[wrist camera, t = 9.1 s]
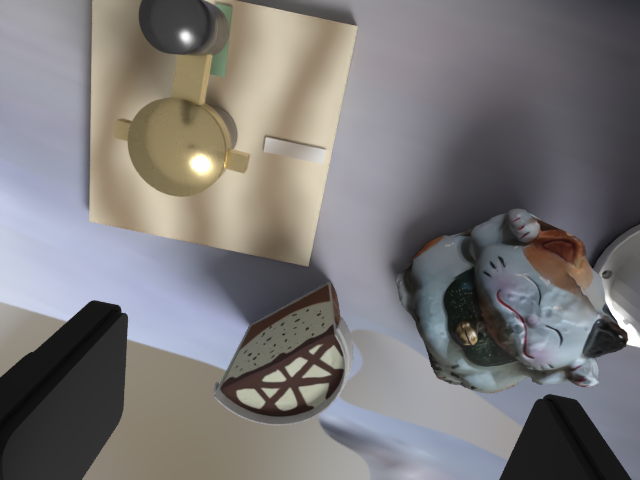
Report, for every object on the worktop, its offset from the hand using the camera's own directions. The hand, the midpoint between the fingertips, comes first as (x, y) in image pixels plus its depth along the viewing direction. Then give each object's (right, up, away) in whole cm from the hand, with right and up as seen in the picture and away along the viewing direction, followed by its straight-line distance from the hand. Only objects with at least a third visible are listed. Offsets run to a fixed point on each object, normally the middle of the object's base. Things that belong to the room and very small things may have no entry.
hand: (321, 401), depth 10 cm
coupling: (-9, +13, +20) cm, 25 cm away
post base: (-9, +13, +28) cm, 32 cm away
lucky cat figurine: (+14, 0, +32) cm, 35 cm away
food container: (-1, -5, +35) cm, 35 cm away
